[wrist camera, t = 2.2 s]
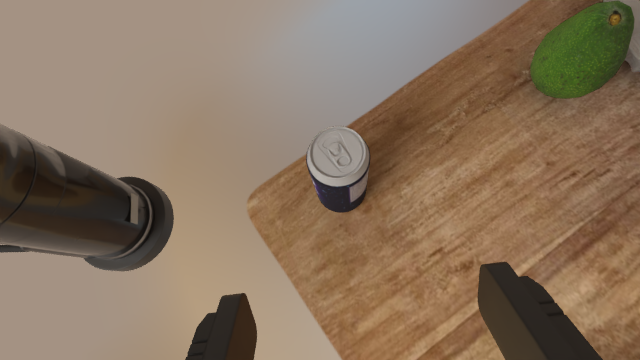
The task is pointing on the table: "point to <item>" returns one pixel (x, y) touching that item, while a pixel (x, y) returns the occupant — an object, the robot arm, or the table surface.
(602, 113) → the table surface
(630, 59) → the seahorse
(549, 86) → the fruit
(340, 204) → the beverage can
